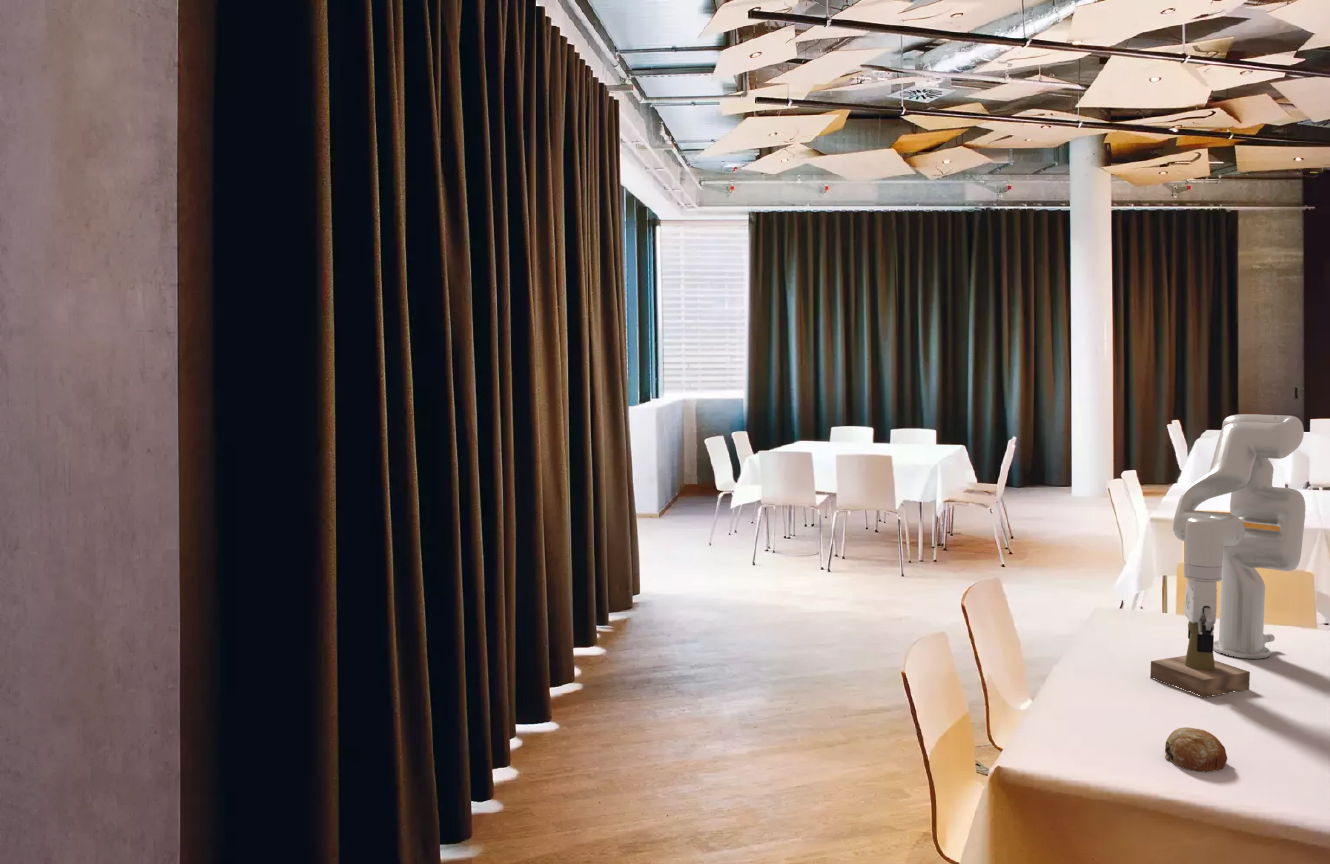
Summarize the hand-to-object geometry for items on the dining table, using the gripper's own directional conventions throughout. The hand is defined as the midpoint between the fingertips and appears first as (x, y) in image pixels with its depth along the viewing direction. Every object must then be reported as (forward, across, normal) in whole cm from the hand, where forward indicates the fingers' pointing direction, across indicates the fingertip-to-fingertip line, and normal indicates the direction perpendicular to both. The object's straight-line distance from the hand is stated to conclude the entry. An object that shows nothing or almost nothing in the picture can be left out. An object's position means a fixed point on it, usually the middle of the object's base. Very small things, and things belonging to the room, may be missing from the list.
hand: (1200, 645), depth 218 cm
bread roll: (+9, +47, -9) cm, 49 cm away
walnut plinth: (+9, 0, 0) cm, 9 cm away
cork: (+5, 0, 0) cm, 5 cm away
